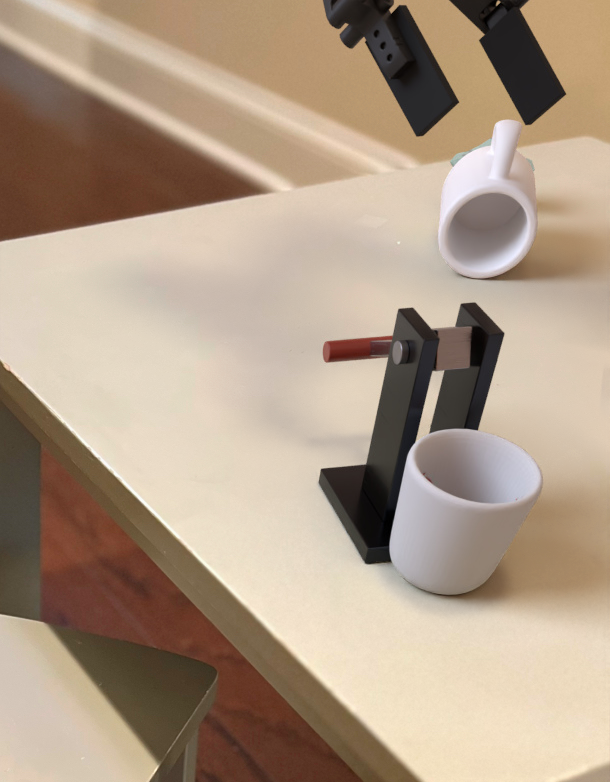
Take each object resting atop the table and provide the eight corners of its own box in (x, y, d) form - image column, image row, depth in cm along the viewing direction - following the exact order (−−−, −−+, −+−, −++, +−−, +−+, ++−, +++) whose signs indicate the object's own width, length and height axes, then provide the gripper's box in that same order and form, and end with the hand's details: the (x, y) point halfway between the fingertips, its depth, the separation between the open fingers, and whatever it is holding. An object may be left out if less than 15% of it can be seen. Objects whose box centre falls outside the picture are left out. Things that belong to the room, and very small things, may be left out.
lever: (322, 369, 83) (322, 334, 82) (417, 361, 84) (418, 325, 83) (397, 374, 71) (398, 332, 70) (508, 364, 72) (510, 322, 71)
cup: (411, 493, 81) (446, 391, 75) (525, 533, 79) (571, 431, 73) (356, 581, 75) (390, 477, 69) (478, 627, 73) (524, 524, 67)
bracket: (317, 482, 84) (351, 291, 74) (438, 471, 85) (488, 280, 75) (364, 564, 77) (408, 364, 67) (496, 550, 78) (559, 351, 68)
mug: (521, 239, 113) (558, 102, 105) (523, 283, 106) (562, 140, 98) (432, 232, 115) (462, 97, 107) (428, 275, 108) (460, 133, 100)
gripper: (395, -113, 84) (537, 146, 83) (166, -142, 69) (336, 171, 69) (481, -215, 78) (635, 63, 77) (250, -270, 63) (437, 72, 63)
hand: (495, 115), depth 73 cm, fingers open, 13 cm apart
